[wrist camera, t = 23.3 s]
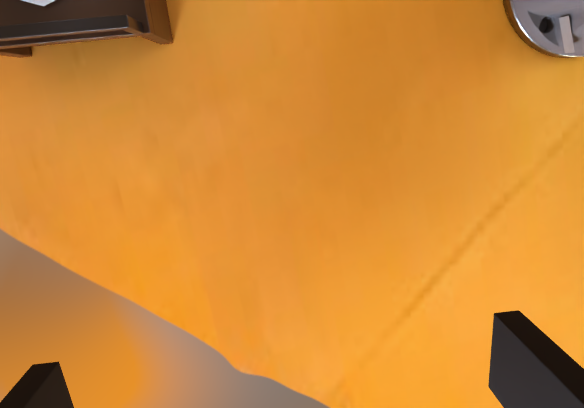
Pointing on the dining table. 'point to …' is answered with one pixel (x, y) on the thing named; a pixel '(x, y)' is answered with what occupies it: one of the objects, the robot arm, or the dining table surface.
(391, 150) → the dining table surface
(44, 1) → the flask
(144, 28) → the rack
